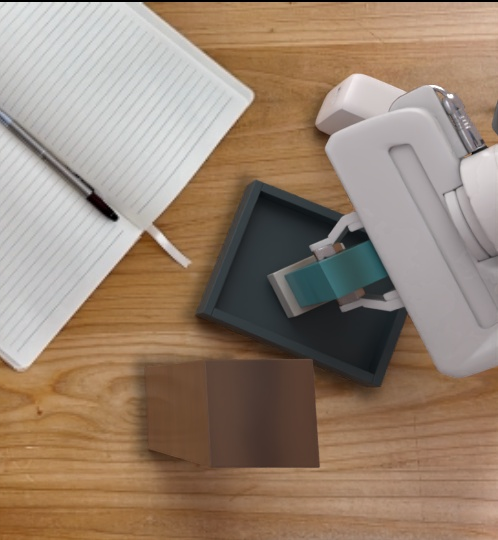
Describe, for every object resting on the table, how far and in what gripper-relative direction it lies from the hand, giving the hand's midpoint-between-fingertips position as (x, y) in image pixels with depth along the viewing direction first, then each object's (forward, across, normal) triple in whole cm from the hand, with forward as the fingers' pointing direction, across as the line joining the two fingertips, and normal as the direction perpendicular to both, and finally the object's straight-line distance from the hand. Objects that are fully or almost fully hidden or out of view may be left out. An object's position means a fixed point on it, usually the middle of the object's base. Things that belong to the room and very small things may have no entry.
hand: (327, 278), depth 69 cm
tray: (+4, 0, +5) cm, 6 cm away
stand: (+14, +6, -5) cm, 16 cm away
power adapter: (-4, -10, +13) cm, 17 cm away
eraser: (+3, 0, +4) cm, 5 cm away
